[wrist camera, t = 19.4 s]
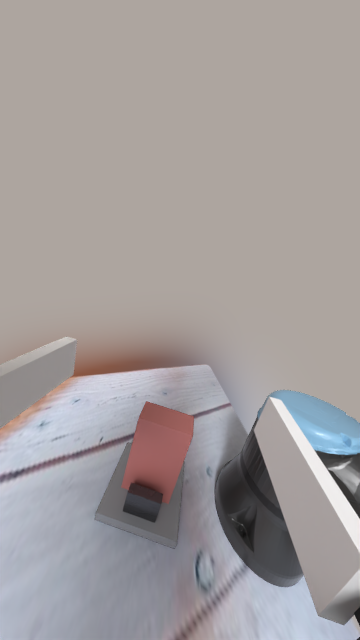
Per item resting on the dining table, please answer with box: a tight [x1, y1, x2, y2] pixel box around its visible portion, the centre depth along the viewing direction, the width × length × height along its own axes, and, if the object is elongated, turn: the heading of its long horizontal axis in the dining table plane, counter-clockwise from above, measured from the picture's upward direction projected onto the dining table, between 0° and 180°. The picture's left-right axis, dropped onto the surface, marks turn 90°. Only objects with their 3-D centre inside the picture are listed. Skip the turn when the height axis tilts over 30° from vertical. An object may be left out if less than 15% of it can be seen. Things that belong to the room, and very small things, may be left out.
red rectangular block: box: [121, 401, 194, 504], centre depth 28 cm, size 8×4×14 cm, turn 83°
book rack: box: [95, 443, 184, 549], centre depth 29 cm, size 12×11×6 cm
